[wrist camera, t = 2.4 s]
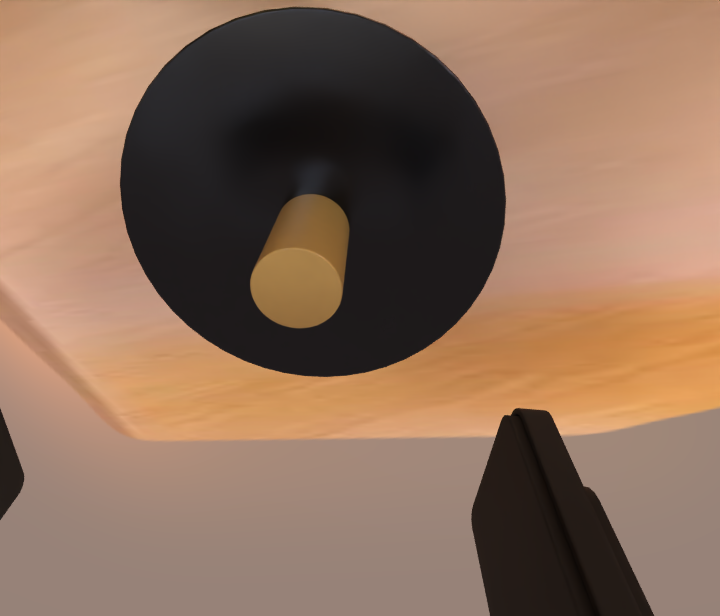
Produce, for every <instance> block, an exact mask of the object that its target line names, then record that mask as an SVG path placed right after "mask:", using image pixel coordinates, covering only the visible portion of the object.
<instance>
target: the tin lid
mask: <svg viewBox="0 0 720 616" xmlns="http://www.w3.org/2000/svg"><path fill="white" fill-rule="evenodd" d="M120 189H121V200H122V210H123V214H124V219H125V223H126V228H127V232H128V235H129V238H130V241H131V243H132V246H133V249H134V252H135V254H136V256H137V258H138V260H139V262H140V264H141V266H142V268H143V270H144V272H145V274H146V276H147V277H148V279H149V280H150V282H151V283H152V285H153V286H154V288H155V289H156V291H157V292H158V294H159V295H160V296H161V298H162V299H163V300H164V301H165V302H166V303H167V305H168V306H169V307H170V308H171V309H172V311H173V312H174V313H175V314H176V315H178V316H179V317H180V318H181V319H182V320H183V321H184V322H185V323H186V324H187V325H188V326H189V327H190V328H192V329H193V330H194V331H196V332H197V333H198V334H199V335H201V336H202V337H203V338H205V339H206V340H207V341H209V342H211V343H212V344H214V345H216V346H217V347H219V348H220V349H222V350H224V351H225V352H227V353H230V354H232V355H234V356H236V357H238V358H240V359H242V360H244V361H247V362H250V363H252V364H255V365H258V366H261V367H263V368H267V369H271V370H275V371H279V372H283V373H289V374H295V375H302V376H318V377H331V376H347V375H353V374H359V373H365V372H369V371H373V370H376V369H380V368H384V367H387V366H389V365H392V364H394V363H397V362H399V361H402V360H404V359H406V358H408V357H410V356H412V355H414V354H416V353H418V352H419V351H421V350H423V349H425V348H426V347H428V346H429V345H430V344H432V343H433V342H435V341H436V340H438V339H439V338H440V337H442V336H443V335H444V334H445V333H446V332H447V331H448V330H449V329H451V328H452V327H453V326H454V325H455V324H456V323H457V322H458V321H459V320H460V319H461V317H462V316H463V315H464V314H465V313H466V312H467V311H468V309H469V308H470V307H471V306H472V304H473V303H474V301H475V300H476V298H477V297H478V295H479V294H480V292H481V291H482V289H483V287H484V285H485V283H486V281H487V279H488V277H489V275H490V273H491V271H492V269H493V266H494V264H495V261H496V258H497V255H498V252H499V249H500V245H501V240H502V235H503V230H504V225H505V208H506V195H505V182H504V173H503V169H502V165H501V160H500V156H499V151H498V148H497V146H496V143H495V140H494V138H493V135H492V132H491V130H490V127H489V125H488V123H487V121H486V119H485V117H484V116H483V114H482V112H481V110H480V108H479V107H478V105H477V103H476V101H475V100H474V98H473V97H472V96H471V94H470V93H469V92H468V90H467V89H466V88H465V86H464V85H463V84H462V82H461V81H460V80H459V79H458V77H457V76H456V75H455V74H454V73H453V72H452V71H451V70H450V69H449V68H448V67H447V66H446V65H445V64H444V63H443V62H441V61H440V60H439V59H438V58H437V57H436V56H435V55H434V54H432V53H431V52H430V51H428V50H427V49H426V48H424V47H423V46H422V45H420V44H419V43H417V42H416V41H415V40H413V39H412V38H410V37H408V36H407V35H405V34H403V33H401V32H399V31H397V30H395V29H393V28H392V27H390V26H388V25H386V24H384V23H381V22H378V21H375V20H372V19H370V18H367V17H364V16H361V15H358V14H355V13H350V12H344V11H339V10H334V9H329V8H313V7H289V8H280V9H271V10H264V11H260V12H256V13H253V14H249V15H245V16H242V17H238V18H235V19H233V20H231V21H228V22H226V23H224V24H222V25H220V26H217V27H215V28H213V29H211V30H209V31H207V32H206V33H204V34H203V35H201V36H200V37H198V38H197V39H195V40H194V41H192V42H191V43H189V44H188V45H186V46H185V47H184V48H183V49H182V50H181V51H180V52H178V53H177V54H176V55H175V56H174V57H173V58H172V59H171V60H170V61H169V62H168V63H167V64H166V65H165V66H164V67H163V68H162V69H161V71H160V72H159V73H158V75H157V76H156V77H155V78H154V80H153V81H152V82H151V84H150V85H149V86H148V88H147V90H146V91H145V93H144V95H143V97H142V99H141V101H140V102H139V104H138V106H137V108H136V110H135V112H134V115H133V118H132V120H131V123H130V126H129V129H128V131H127V134H126V139H125V144H124V149H123V154H122V159H121V178H120Z"/></svg>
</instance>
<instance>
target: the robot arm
mask: <svg viewBox="0 0 720 616" xmlns="http://www.w3.org/2000/svg"><path fill="white" fill-rule="evenodd" d="M23 482H24V473H23V470H22V467H21V464H20V462H19V459H18V456H17V453H16V450H15V448H14V445H13V442H12V439H11V437H10V434H9V431H8V428H7V426H6V423H5V420H4V418H3V415H2V412H1V409H0V520H1V518H2V517H3V515H4V514H5V513H6V511H7V510H8V508H9V507H10V506H11V504H12V503H13V502H14V500H15V499H16V497H17V496H18V494H19V493H20V491H21V489H22V486H23ZM472 529H473V533H474V539H475V544H476V548H477V553H478V558H479V563H480V568H481V573H482V578H483V583H484V587H485V593H486V597H487V602H488V607H489V612H490V616H654V614H653V612H652V610H651V608H650V606H649V604H648V602H647V600H646V598H645V595H644V593H643V591H642V589H641V587H640V585H639V583H638V581H637V579H636V576H635V574H634V572H633V570H632V568H631V566H630V564H629V562H628V560H627V557H626V555H625V553H624V551H623V549H622V547H621V545H620V543H619V541H618V539H617V536H616V534H615V532H614V530H613V528H612V526H611V524H610V522H609V520H608V518H607V515H606V513H605V511H604V509H603V507H602V505H601V503H600V501H599V499H598V498H597V496H596V494H595V493H594V492H593V491H592V490H591V489H590V488H588V487H584V486H583V484H582V482H581V480H580V477H579V475H578V473H577V471H576V469H575V467H574V464H573V462H572V460H571V458H570V456H569V453H568V451H567V449H566V447H565V445H564V443H563V440H562V438H561V436H560V434H559V431H558V429H557V427H556V425H555V423H554V420H553V418H552V416H551V415H550V413H549V412H547V411H544V410H532V409H521V408H516V409H515V410H514V411H513V412H512V414H511V416H510V415H504V417H503V418H502V420H501V423H500V426H499V429H498V432H497V435H496V438H495V441H494V444H493V448H492V450H491V454H490V456H489V459H488V462H487V466H486V469H485V471H484V474H483V477H482V480H481V484H480V486H479V490H478V493H477V496H476V498H475V502H474V505H473V509H472Z"/></svg>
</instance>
